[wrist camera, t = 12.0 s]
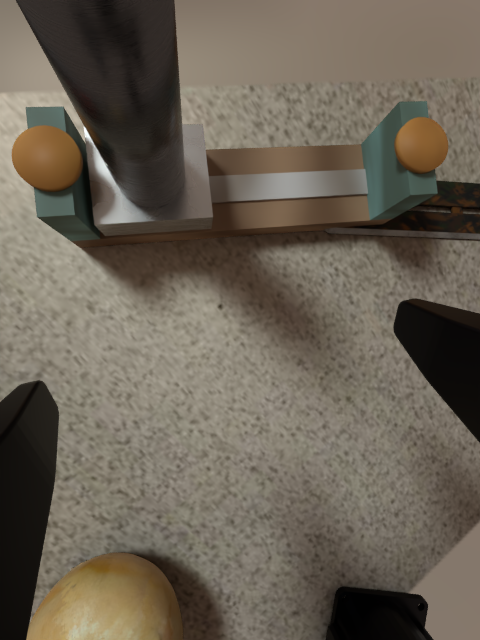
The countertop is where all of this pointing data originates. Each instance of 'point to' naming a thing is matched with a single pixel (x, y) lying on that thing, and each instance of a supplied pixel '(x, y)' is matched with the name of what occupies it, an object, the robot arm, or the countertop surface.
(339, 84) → the countertop surface
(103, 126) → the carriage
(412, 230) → the knife
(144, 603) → the onion
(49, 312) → the countertop surface
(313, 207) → the rail
